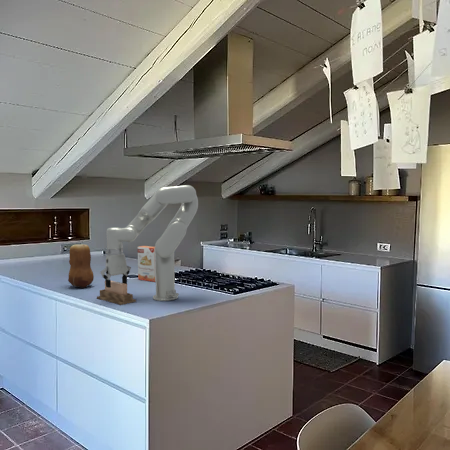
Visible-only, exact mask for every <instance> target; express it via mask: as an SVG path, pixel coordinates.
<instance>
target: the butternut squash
mask: <svg viewBox="0 0 450 450" xmlns="http://www.w3.org/2000/svg"><path fill="white" fill-rule="evenodd" d="M68 252H69V255H68V256H69V259H68V260H69V261H68V263H69V266H70V268H69V272H68V280H67V281H68V283H69V284H70V285H71V286H73V287H76V288H81V289H85V288H87V287H89V286H90V285H91V284H93V282H94V279H95V278H94V277H95V276H94V272H93V269H92V267H91V266H92V265H91V261H92V255H91V249H90V246H89V245H88V244H81V243H80V244H73V245H71V246H70V247H69V251H68Z"/></svg>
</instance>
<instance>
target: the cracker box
mask: <svg viewBox="0 0 450 450" xmlns="http://www.w3.org/2000/svg"><path fill="white" fill-rule="evenodd" d="M137 276H138V277H137V278H138V279H137V280H139V281H140V280H141V281H145V282H146V281H147V282H151V283H153V282H154V283H156V255H155V246H151V245H149V246H148V245H139V246H137Z"/></svg>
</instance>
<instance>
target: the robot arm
mask: <svg viewBox="0 0 450 450" xmlns="http://www.w3.org/2000/svg"><path fill="white" fill-rule="evenodd" d="M173 204H174V205H175V204H181V205H180V207H179V209H178V210H177V212H176V213H175V215H174V217H173V218H172V219H171V220H170V222H169V223H168V224H167V227H166V228H165V230H164V231H163V233H162V234H161V235H160V237H159V238H158V239H157V240H156V241H155V244H154V247H155V255H156V282H155V295H153V296H152V299H153V300H154V301H160V302H166V301H168V302H169V301H174V300H177V299H178V297H179V293H177V290H176V288H175V285H176V284H175V276H176V275H175V251H176V250H177V248H178V247H179V245H180V244H181V242H182V241H183V239H184V238H185V236H186V234H187V229H188V227H189V225H190V224H191V222H192V221H193V219H194V217H195V215H196V214H197V212H198V208H199V198H198V196H197V190H196V188H194V186H192V185H190V184H185V185H176V186H163V187H160V188H158V189H157V190H156V191H155V193H154V194H153V195H152V196H151V197H150V198H149V199H148V200H147V202H146V203H145V204H144V205H143V206H141V209H140V210H139V212H138V213H137V214H136V215H135V217H134V218H133V219H132V220H131V221H130V222H129V223H128V224H127V225H126V226H125V227H117V226H116V227H115V226H114V227H108V228H107V229H106V247H107V249H106V250H105V254H106V257H105V267H104V268H103V269H102V270H101V271H100V272H99V274H101V278H103V279H104V282H105V281H106V287H108V288H110V287H111V281H112V280H111V277H112V276H119V275H122V276H121V279H122V280H121V281H122V282H121V283H124V284H127V285H128V277H129V274H130V272H131V269H132V267H131V266H129V265H128V264H127V259H126V255H125V253H124V249H123V248H124V246H123V242H124V243H133V242H134V241H135V240H136V239H137V237H138V236H139V235H140V234H142V232H143V231H144V230H145V229H146V228H147V226H148V225H149V224H150V223H152V222H153V221H154V220H155V219H157V218H158V216H159V215H160V213H161V212H162V211H163V210H164V209H166V207H168V205H173Z"/></svg>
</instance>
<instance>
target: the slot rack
mask: <svg viewBox="0 0 450 450" xmlns="http://www.w3.org/2000/svg"><path fill="white" fill-rule="evenodd" d="M133 297H134V296H133V294H132V293H129V292H127V295H125V296H123V295H119V294H115V293H111V292H107V291H105V288H103V289H100V290H99V295H98V296H96V299H98V300H101V301H104V302H109V303H112V304H116V305H120V306H122V305H126V304H127V303H128V304H131V303H136V302H137V300H136V299H134V298H133Z"/></svg>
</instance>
